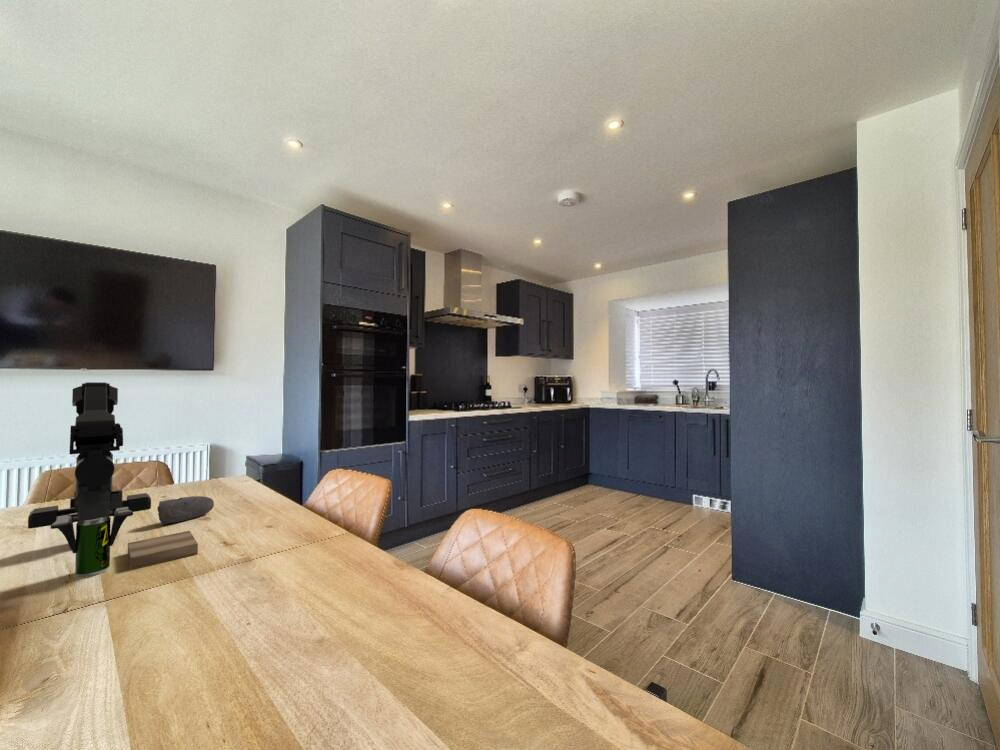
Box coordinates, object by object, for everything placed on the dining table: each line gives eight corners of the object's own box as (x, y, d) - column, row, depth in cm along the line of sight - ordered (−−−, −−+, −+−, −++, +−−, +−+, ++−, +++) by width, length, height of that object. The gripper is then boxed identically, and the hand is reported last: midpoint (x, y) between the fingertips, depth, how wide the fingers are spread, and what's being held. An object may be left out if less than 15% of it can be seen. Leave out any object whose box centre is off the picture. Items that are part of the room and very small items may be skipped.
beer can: (71, 580, 86) (72, 522, 87) (79, 570, 91) (80, 515, 91) (106, 573, 89) (107, 517, 90) (112, 564, 94) (113, 511, 94)
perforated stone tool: (210, 511, 133) (210, 489, 133) (217, 514, 130) (218, 492, 130) (151, 525, 120) (151, 501, 120) (158, 528, 117) (159, 504, 117)
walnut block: (127, 553, 100) (127, 543, 100) (189, 540, 108) (189, 530, 108) (131, 569, 91) (131, 558, 91) (197, 553, 100) (197, 543, 100)
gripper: (25, 491, 78) (23, 575, 78) (154, 476, 91) (152, 547, 91) (31, 481, 86) (30, 557, 86) (149, 468, 99) (148, 534, 99)
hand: (93, 549), depth 90 cm, fingers closed on beer can, 5 cm apart
